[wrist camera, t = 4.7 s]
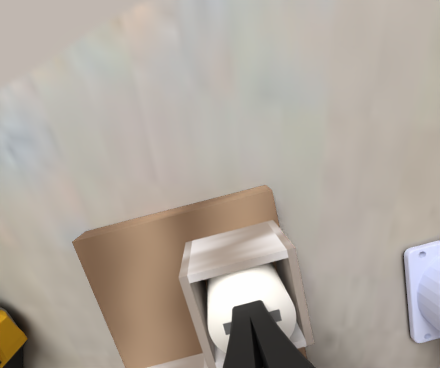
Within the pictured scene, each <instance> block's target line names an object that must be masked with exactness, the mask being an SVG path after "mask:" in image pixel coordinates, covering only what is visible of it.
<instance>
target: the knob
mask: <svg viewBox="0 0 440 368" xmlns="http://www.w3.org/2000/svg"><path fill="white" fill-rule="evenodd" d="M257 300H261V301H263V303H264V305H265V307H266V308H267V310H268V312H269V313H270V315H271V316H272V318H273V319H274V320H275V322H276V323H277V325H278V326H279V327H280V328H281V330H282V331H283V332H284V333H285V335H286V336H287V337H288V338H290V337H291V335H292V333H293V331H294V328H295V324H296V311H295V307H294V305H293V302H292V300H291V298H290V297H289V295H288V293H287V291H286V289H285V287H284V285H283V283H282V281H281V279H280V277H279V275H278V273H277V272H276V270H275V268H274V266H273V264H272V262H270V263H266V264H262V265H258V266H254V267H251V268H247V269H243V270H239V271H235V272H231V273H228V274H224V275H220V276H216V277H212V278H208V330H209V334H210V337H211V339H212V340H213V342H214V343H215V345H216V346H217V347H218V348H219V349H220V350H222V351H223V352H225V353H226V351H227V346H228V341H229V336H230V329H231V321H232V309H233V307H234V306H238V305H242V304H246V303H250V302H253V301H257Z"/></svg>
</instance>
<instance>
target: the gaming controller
mask: <svg viewBox="0 0 440 368" xmlns="http://www.w3.org/2000/svg"><path fill="white" fill-rule="evenodd" d="M27 339H28V338H27V337H26V335H25V334H24V332H22V331H21V330H20V329H19V328H18V326H17V325H16V324H15V322H14V321H13V319H12V318H11V316H10V315H9V314H8V312H7V311H6V310H5V309H3V308H1V307H0V368H22V363H23V344H24V343H25V341H26V340H27Z"/></svg>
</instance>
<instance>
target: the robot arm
mask: <svg viewBox="0 0 440 368" xmlns="http://www.w3.org/2000/svg"><path fill="white" fill-rule="evenodd" d="M419 253H420V254H419ZM404 263H405V275H406V287H407V298H408V310H409V322H410V334H411V338H412V339H413V340H414V341H415V342H416V343H423V342H427V341H430V340H434V339H438V338H440V240H439V241H435V242H431V243H427V244H423V245H419V246H416V247H412V248H409V249H407V250H406V251H405V253H404ZM223 368H315V367H314V366H313V365H312V364H311V363H310V362H309V361H308V360H307V359H306V358H305V356H304V355H303V354H302V353H301V352H300V351H299V350H298V349H297V348H296V347H295V345H294V344H293V343H292V342H291V341H290V340H289V338H288V337H287V336H286V335H285V333H284V332H283V331H282V330H281V328H280V327H279V326H278V325H277V323H276V322H275V320H274V319H273V318H272V316H271V315H270V313H269V312H268V310H267V308H266V307H265V305H264V303H263V301H261V300H257V301H253V302H250V303H246V304H242V305H238V306H234V307H233V309H232V321H231V329H230V336H229V341H228V346H227V351H226V356H225V360H224V364H223Z"/></svg>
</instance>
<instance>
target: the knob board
mask: <svg viewBox="0 0 440 368" xmlns="http://www.w3.org/2000/svg"><path fill="white" fill-rule="evenodd" d="M72 243H73V246H74V248H75V250H76V253H77V255H78V257H79V260H80V262H81V264H82V267H83V269H84V271H85V274H86V276H87V278H88V281H89V283H90V286H91V288H92V290H93V293H94V295H95V297H96V300H97V302H98V304H99V307H100V309H101V311H102V314H103V316H104V318H105V321H106V323H107V326H108V328H109V330H110V333H111V335H112V337H113V340H114V342H115V344H116V347H117V349H118V351H119V354H120V356H121V358H122V361H123V363H124V366H125V368H223V364H224V360H225V356H226V353H225V352H223V351H222V350H220V349H219V348H218V347H217V346H216V345H215V343H214V342H213V340H212V339H211V337H210V334H209V330H208V278H212V277H216V276H220V275H224V274H228V273H231V272H235V271H239V270H243V269H247V268H251V267H254V266H258V265H262V264H266V263H270V262H272V264H273V266H274V268H275V270H276V272H277V273H278V275H279V277H280V279H281V281H282V283H283V285H284V287H285V289H286V291H287V293H288V295H289V297H290V298H291V300H292V302H293V305H294V307H295V311H296V324H295V328H294V331H293V333H292V335H291V337H290V338H289V340H290V341H291V342H292V343H293V344H294V345H295V347H296V348H297V349H298V350H299V351H300V352H301V353H302V354H303V355H304V356H305V358H306V359H307V356H306V351H305V346H309V345H313V344H314V339H313V334H312V329H311V324H310V319H309V314H308V309H307V304H306V299H305V293H304V288H303V283H302V278H301V273H300V268H299V263H298V258H297V253H296V248H295V246H294V245H293V244H292V243H291V241H290V240H289V239H288V238H287V236H286V235H285V234H284V233H283V231H282V230H281V229H280V226H279V221H278V217H277V212H276V207H275V202H274V197H273V193H272V190H271V189H270V188H269V187H267V186H266V185H263V186H260V187H256V188H252V189H248V190H244V191H240V192H236V193H233V194H229V195H225V196H221V197H217V198H213V199H209V200H206V201H202V202H198V203H194V204H190V205H186V206H182V207H178V208H175V209H171V210H167V211H163V212H159V213H155V214H151V215H148V216H144V217H140V218H136V219H132V220H128V221H124V222H120V223H117V224H113V225H109V226H105V227H101V228H97V229H93V230H90V231H86V232H84V233H83V234H82V235H80V236H79V237H78V238H77V239H75V240H74V241H73V242H72Z"/></svg>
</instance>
